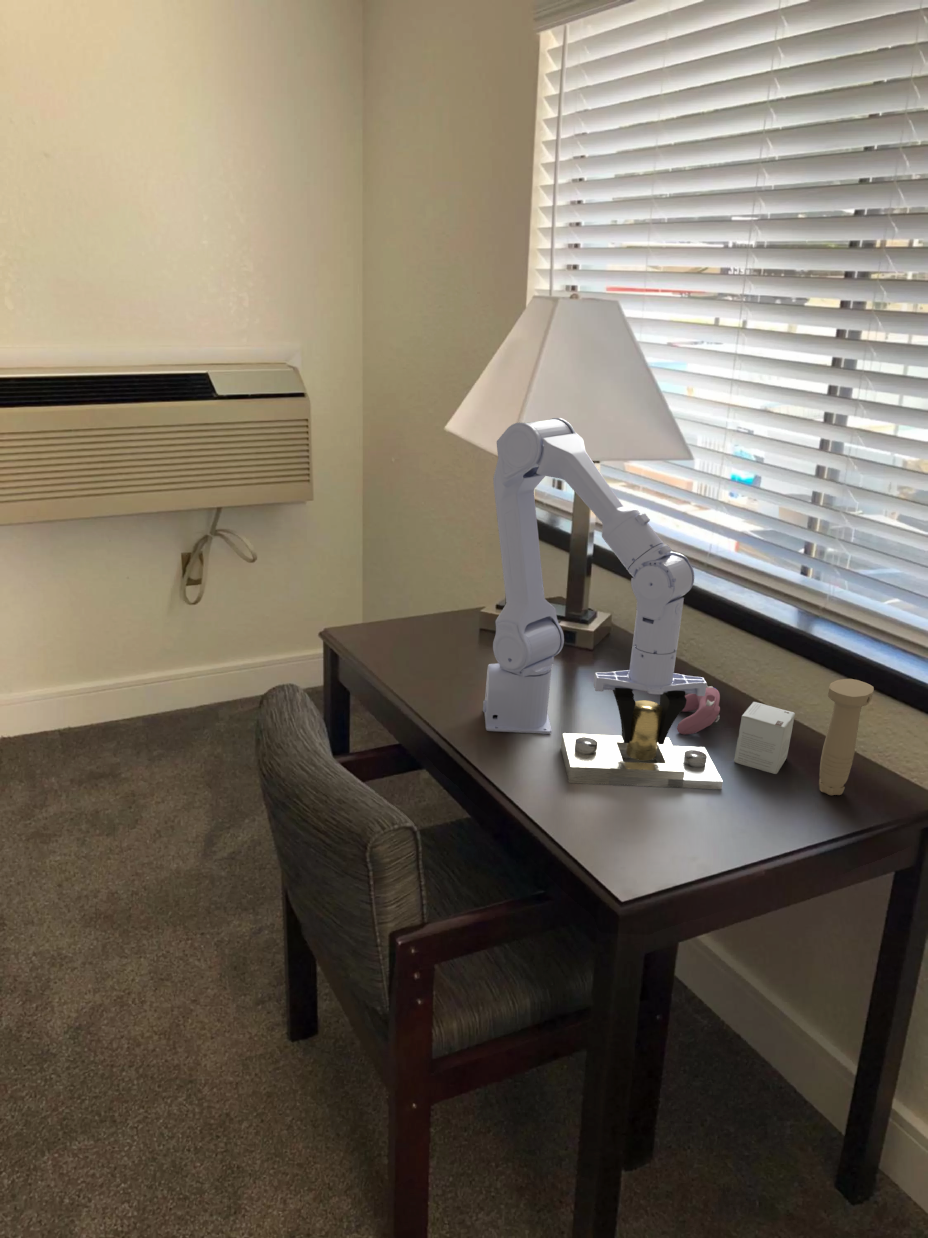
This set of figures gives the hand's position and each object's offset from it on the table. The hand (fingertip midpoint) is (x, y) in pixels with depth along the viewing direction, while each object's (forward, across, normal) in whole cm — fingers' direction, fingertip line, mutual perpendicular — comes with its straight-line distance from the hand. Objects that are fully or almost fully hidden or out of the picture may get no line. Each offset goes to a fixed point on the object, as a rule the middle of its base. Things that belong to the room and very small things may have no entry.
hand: (642, 740), depth 134 cm
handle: (+4, +25, -4) cm, 26 cm away
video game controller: (+4, +12, +15) cm, 20 cm away
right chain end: (+4, +3, 0) cm, 5 cm away
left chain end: (+4, -3, 0) cm, 5 cm away
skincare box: (+4, +18, +4) cm, 19 cm away
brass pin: (+2, 0, 0) cm, 2 cm away
